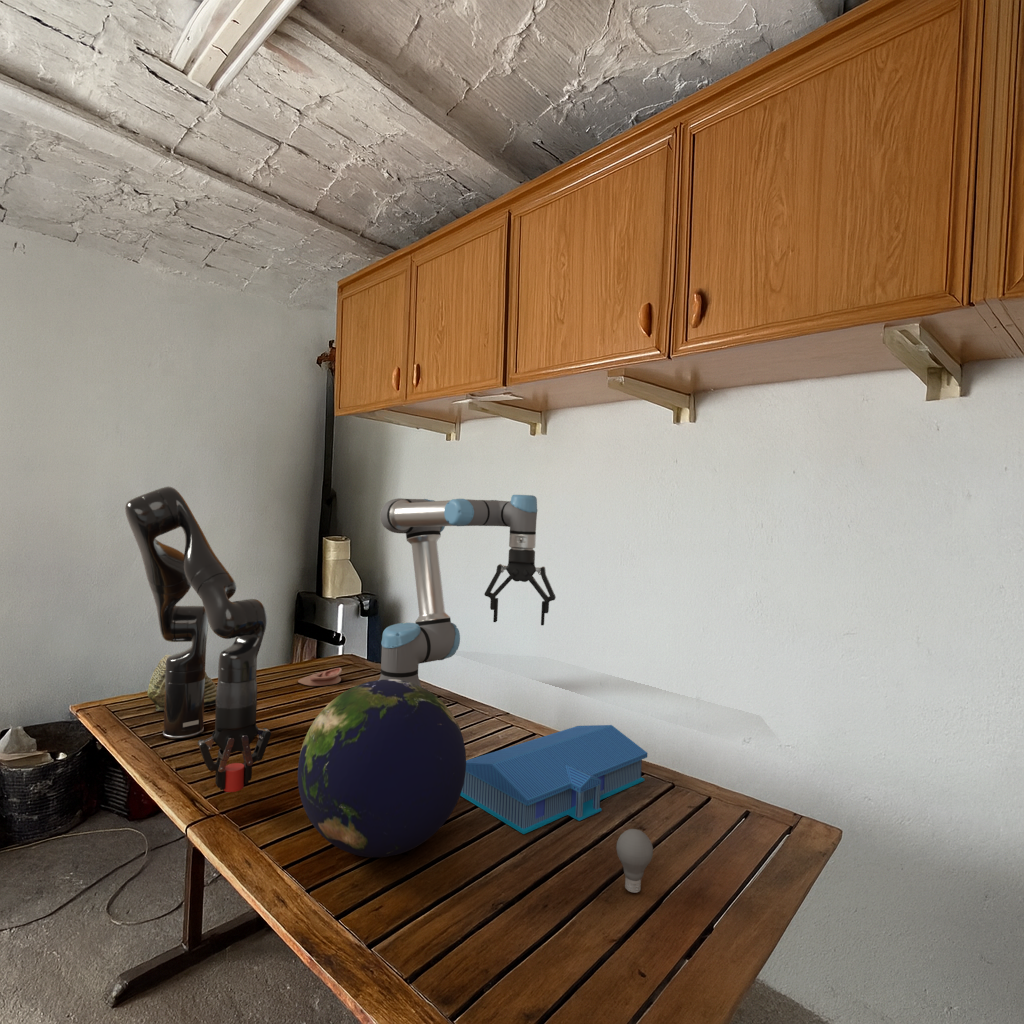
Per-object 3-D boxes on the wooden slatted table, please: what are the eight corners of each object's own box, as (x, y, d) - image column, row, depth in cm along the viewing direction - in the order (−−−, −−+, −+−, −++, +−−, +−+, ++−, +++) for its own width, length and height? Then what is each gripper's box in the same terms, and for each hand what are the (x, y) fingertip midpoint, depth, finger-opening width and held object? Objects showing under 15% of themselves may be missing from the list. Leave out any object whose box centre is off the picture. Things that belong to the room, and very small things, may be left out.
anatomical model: (293, 672, 210) (311, 663, 221) (292, 684, 210) (310, 675, 221) (330, 676, 207) (346, 667, 219) (329, 688, 208) (345, 678, 219)
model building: (535, 841, 120) (537, 789, 119) (456, 793, 138) (458, 747, 137) (656, 785, 146) (658, 742, 146) (576, 751, 164) (578, 712, 164)
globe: (256, 866, 108) (262, 691, 107) (361, 794, 135) (366, 654, 135) (408, 917, 96) (416, 722, 96) (488, 827, 124) (495, 675, 123)
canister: (239, 792, 125) (240, 771, 125) (219, 792, 125) (220, 770, 124) (246, 783, 129) (247, 763, 128) (227, 783, 128) (228, 762, 128)
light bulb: (610, 879, 108) (613, 822, 108) (644, 879, 109) (647, 822, 109) (619, 902, 102) (622, 840, 102) (655, 901, 103) (658, 840, 103)
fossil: (144, 707, 182) (145, 655, 182) (212, 696, 194) (213, 647, 194) (151, 716, 175) (153, 662, 175) (221, 703, 188) (223, 653, 188)
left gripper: (202, 712, 119) (199, 802, 119) (278, 700, 127) (275, 784, 128) (193, 700, 125) (190, 786, 125) (267, 689, 133) (264, 770, 134)
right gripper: (476, 547, 178) (473, 622, 179) (565, 552, 175) (561, 628, 176) (481, 545, 186) (478, 617, 186) (566, 550, 183) (563, 623, 183)
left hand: (233, 785), depth 127 cm, fingers closed on canister, 3 cm apart
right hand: (518, 623), depth 181 cm, fingers open, 13 cm apart
